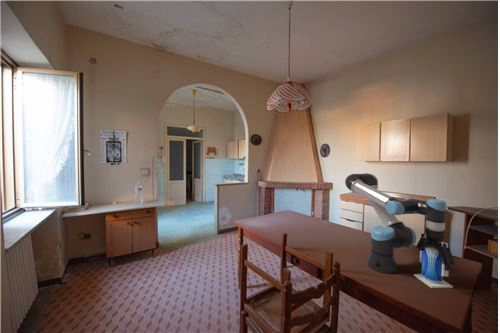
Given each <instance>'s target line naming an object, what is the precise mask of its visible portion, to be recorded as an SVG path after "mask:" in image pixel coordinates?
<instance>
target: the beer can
mask: <svg viewBox="0 0 500 333" xmlns="http://www.w3.org/2000/svg"><path fill="white" fill-rule="evenodd" d="M442 263H444V262H443V260H442V258H441V256H440V254H439V252H438V250H436V248H435V247H432V246H429V247H426V248H425V250H424V251H423V255H422V263H421V274H422V276H423V277H424V278H425V279H426V280H428V281H430V282H433V283H440V282H441V281H442V280H444V276H442Z"/></svg>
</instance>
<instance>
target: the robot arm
mask: <svg viewBox="0 0 500 333" xmlns="http://www.w3.org/2000/svg"><path fill="white" fill-rule="evenodd" d="M378 182H379V180H378V178H377V176H375V175H374V174H372V173H367V172H364V173H351V174H349V175H347V177H346V178H345V181H344V184H345V187H346V189H348V190H350V192H353V193H357V194H359V195H362V196H363V197H364V198H366V199H367V200H368V202H369V203H370V205H371V207H372V208H373V210H374V212H375V213H376V214H377V216H378V218H379V219H380V220H381V223H382V225H376V226H374V227H372V228H371V233H370V252H369V255H368V258H367V260H366V264H367V266H368V267H369V268H370V269H371V270H374V271H376V272H380V273H383V274H394V273H397V271H398V266H397V263H396V260H395V250H396V249H398V250H399V249H402V248H403V249H405V248H409V247H412V246H414V245H415V244H416V242H417V234H416V232H415V231H414V230H413V228H411V227H409V226H406V225H405V224H404V222H403V221H401V220H398V218H397V216H401V215H410V214H419V215H421V216H422V215H423V216H425V217H426V218H425V227H426V228H425V233H421V235H420V238H419V240H418V242H417V244H416V245H415V247H416V248H417V249H418V250H419V263H421V264H422V255H423V251H424V250H425V248H426V247H432V248H436V250H438V252H439V254H440V256H441V258H442V260H443V263H442V276H443V277H449V272H450V270H451V266H456V263H455V260H454V257H453V254H452V251H451V248H450V247H451V246H450V245H451V244H450V243H449V242H444V239H445V236H446V231H445V230H446V214H447V202H446V201H445V200H443V199H440V198H428V199H427V200H425V201H424V200H420V199H416V198H409V197H407V198H405V199H403V200H400V199H397V198H396V197H394V196H391V195H389V194H387V193H385V192H383V191H381V190H379V189H378V188H379V183H378Z"/></svg>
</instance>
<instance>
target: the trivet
mask: <svg viewBox="0 0 500 333" xmlns="http://www.w3.org/2000/svg"><path fill="white" fill-rule="evenodd" d="M413 276H414V277H416V278H417V279H418V280H420V281H421V282H422V283H424V284H425V285H427V286H428V287H429V288H431V289H453V288H454V286H453V285H452V284H450V283H449V282H447V281H446V280H444V279H443V280H442V281H441V282H440V283H433V282H430V281H428V280H426V279H425V278H424V277H423V276H422V273H414V274H413Z"/></svg>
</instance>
